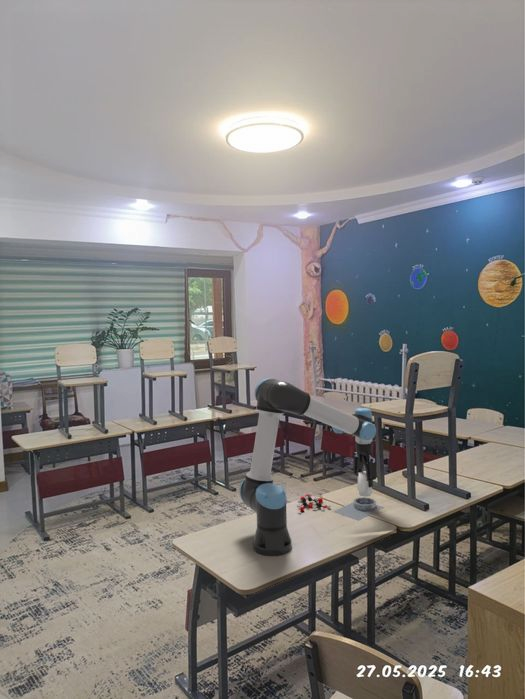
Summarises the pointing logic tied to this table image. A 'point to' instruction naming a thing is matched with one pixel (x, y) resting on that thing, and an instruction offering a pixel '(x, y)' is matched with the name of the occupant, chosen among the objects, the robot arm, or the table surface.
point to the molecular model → (308, 497)
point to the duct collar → (362, 507)
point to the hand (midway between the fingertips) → (364, 491)
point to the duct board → (356, 511)
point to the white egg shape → (362, 483)
